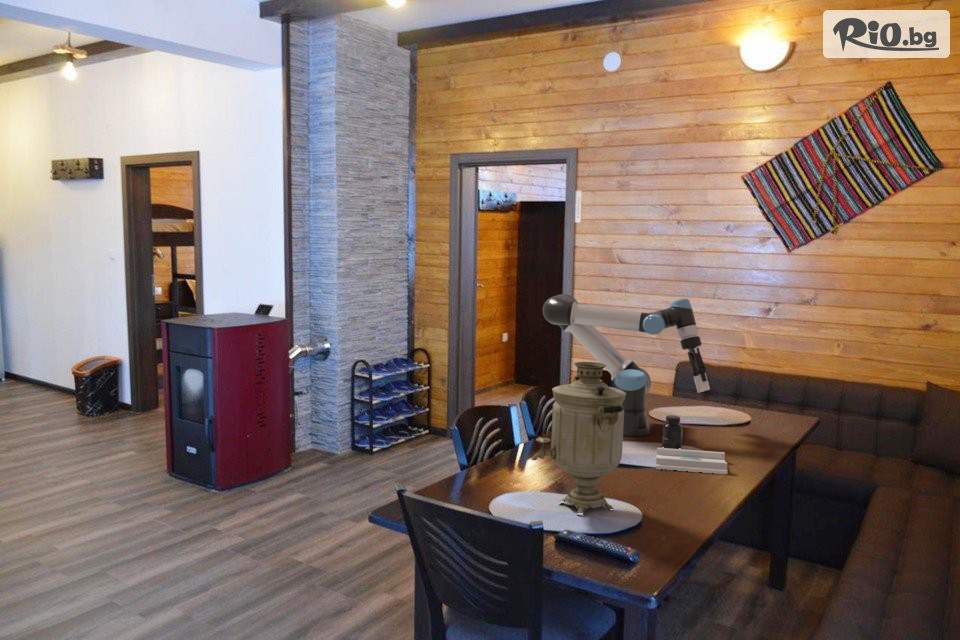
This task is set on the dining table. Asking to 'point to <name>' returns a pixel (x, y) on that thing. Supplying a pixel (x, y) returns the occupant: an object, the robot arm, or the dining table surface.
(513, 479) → the dining table surface
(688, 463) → the rail cradle
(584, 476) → the samovar
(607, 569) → the dining table surface
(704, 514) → the dining table surface
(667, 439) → the supplement bottle
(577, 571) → the dining table surface
